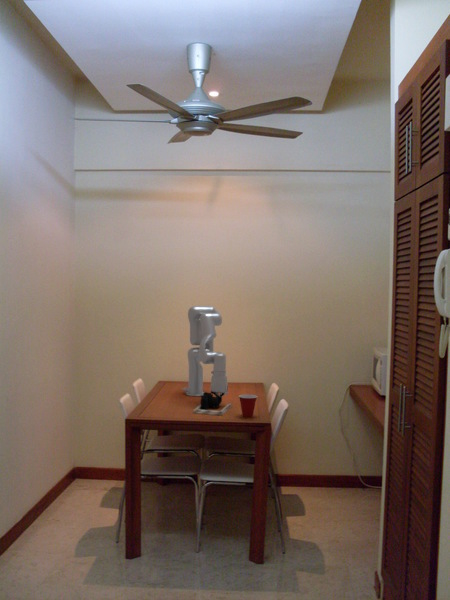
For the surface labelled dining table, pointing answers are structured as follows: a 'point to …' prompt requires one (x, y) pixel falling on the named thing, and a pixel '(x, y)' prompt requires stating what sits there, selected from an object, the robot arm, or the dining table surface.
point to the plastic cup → (247, 404)
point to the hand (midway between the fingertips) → (219, 403)
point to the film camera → (209, 401)
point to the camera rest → (198, 410)
